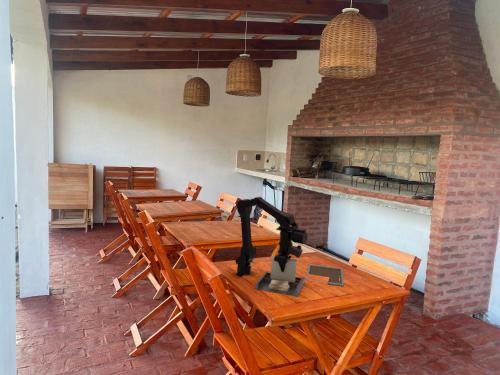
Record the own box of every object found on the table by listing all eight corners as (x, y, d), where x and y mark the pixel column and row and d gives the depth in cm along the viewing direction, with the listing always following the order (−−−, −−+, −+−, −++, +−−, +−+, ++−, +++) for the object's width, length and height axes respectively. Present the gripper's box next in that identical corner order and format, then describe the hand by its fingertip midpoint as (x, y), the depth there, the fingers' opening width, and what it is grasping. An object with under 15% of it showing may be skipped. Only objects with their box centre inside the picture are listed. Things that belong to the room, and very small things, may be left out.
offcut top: (270, 285, 186) (270, 282, 186) (271, 282, 190) (271, 279, 190) (287, 287, 184) (287, 284, 184) (288, 284, 189) (288, 281, 189)
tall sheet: (270, 279, 195) (271, 257, 193) (271, 277, 197) (272, 256, 195) (294, 283, 191) (296, 261, 190) (295, 281, 193) (296, 259, 192)
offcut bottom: (268, 288, 186) (268, 285, 186) (271, 284, 191) (271, 281, 191) (287, 291, 184) (287, 288, 184) (289, 288, 189) (289, 284, 188)
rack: (254, 291, 184) (255, 283, 184) (265, 278, 202) (265, 270, 202) (297, 298, 179) (297, 290, 178) (304, 284, 197) (304, 277, 196)
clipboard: (305, 280, 201) (308, 262, 230) (305, 283, 201) (308, 265, 230) (344, 285, 197) (342, 266, 226) (343, 288, 197) (342, 269, 227)
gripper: (298, 247, 180) (296, 280, 182) (305, 238, 198) (302, 268, 200) (274, 243, 183) (272, 276, 185) (283, 235, 201) (281, 264, 203)
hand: (283, 271), depth 193 cm, fingers closed on tall sheet, 2 cm apart
